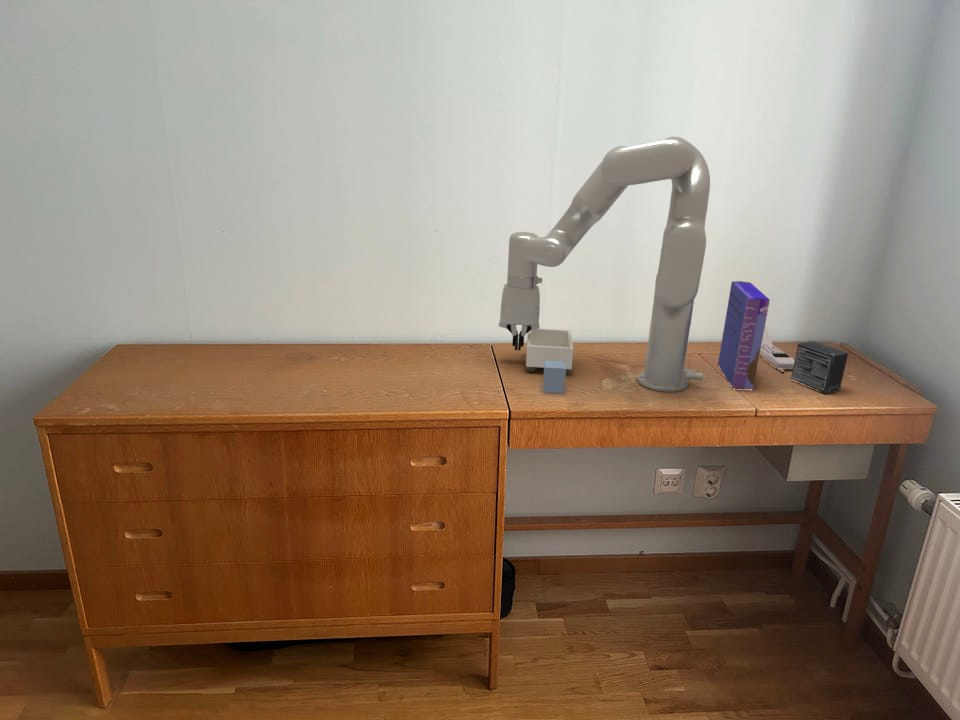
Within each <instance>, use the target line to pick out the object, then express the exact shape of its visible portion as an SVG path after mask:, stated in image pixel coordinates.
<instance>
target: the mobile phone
mask: <svg viewBox="0 0 960 720" xmlns="http://www.w3.org/2000/svg"><path fill="white" fill-rule="evenodd" d="M760 354H761V355H762V356H763V357H764V358H766V359H767V360H768V361H769V362H770V363H772V364H773V365H774V366H775V367H776V368H779V369H780V370H781V371H785V369H782V368H789V369H788V370H793V367H794V362H795V358H793V357H792V356H791V355H789V354H788V353H786V352H784V351H783V350H781V349H779V348H778V347H776V346H775V345H773V342H772V339H771V336H770V334H769V330H768V328H767V327H766V326H765V328H764V333H763V339H762V344H761V349H760ZM776 368H775V369H776ZM791 368H792V369H791Z"/></svg>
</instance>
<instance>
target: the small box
mask: <svg viewBox="0 0 960 720" xmlns="http://www.w3.org/2000/svg"><path fill="white" fill-rule="evenodd" d="M848 357H849V353H848V352H846V351H844V350H840V349H837V348H835V347H831V346H829V345H826V344H822V343H818V342H816V341H814V340H813V341H808V342H807V341H806V342H799V343H797V348H796V353H795V358H794V360H795V362H794V367H793V369H792V373H791V376H790V380H791V379H793V380H796V381H798V382H800V383H803V384H805V385H807V386H810V387H812V388H814V389H817V390H819V391H821V392H823V393H826V394H825V395H827V393H828V394H831V393H830V392H832V393H835V392H834V391H837V392H839V391H838V390H840V389H841V386H842V381H843V378H844V373H845V369H846V364H847V362H848ZM840 391H841V390H840ZM823 393H822V394H823Z"/></svg>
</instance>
